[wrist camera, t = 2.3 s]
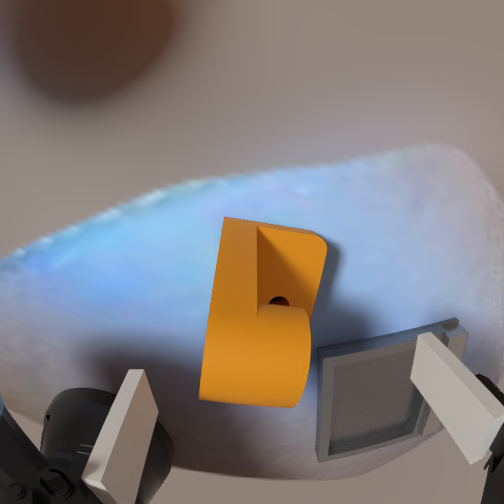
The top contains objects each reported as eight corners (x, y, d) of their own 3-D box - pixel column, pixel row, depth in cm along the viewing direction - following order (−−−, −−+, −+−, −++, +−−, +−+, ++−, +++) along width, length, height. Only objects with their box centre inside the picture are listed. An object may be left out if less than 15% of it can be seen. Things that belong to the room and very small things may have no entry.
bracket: (290, 352, 26) (322, 458, 15) (206, 342, 26) (193, 452, 14) (319, 230, 24) (391, 287, 12) (224, 215, 23) (215, 263, 12)
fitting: (315, 451, 30) (319, 467, 28) (318, 347, 26) (325, 363, 24) (428, 420, 31) (437, 432, 28) (455, 317, 27) (469, 328, 24)
